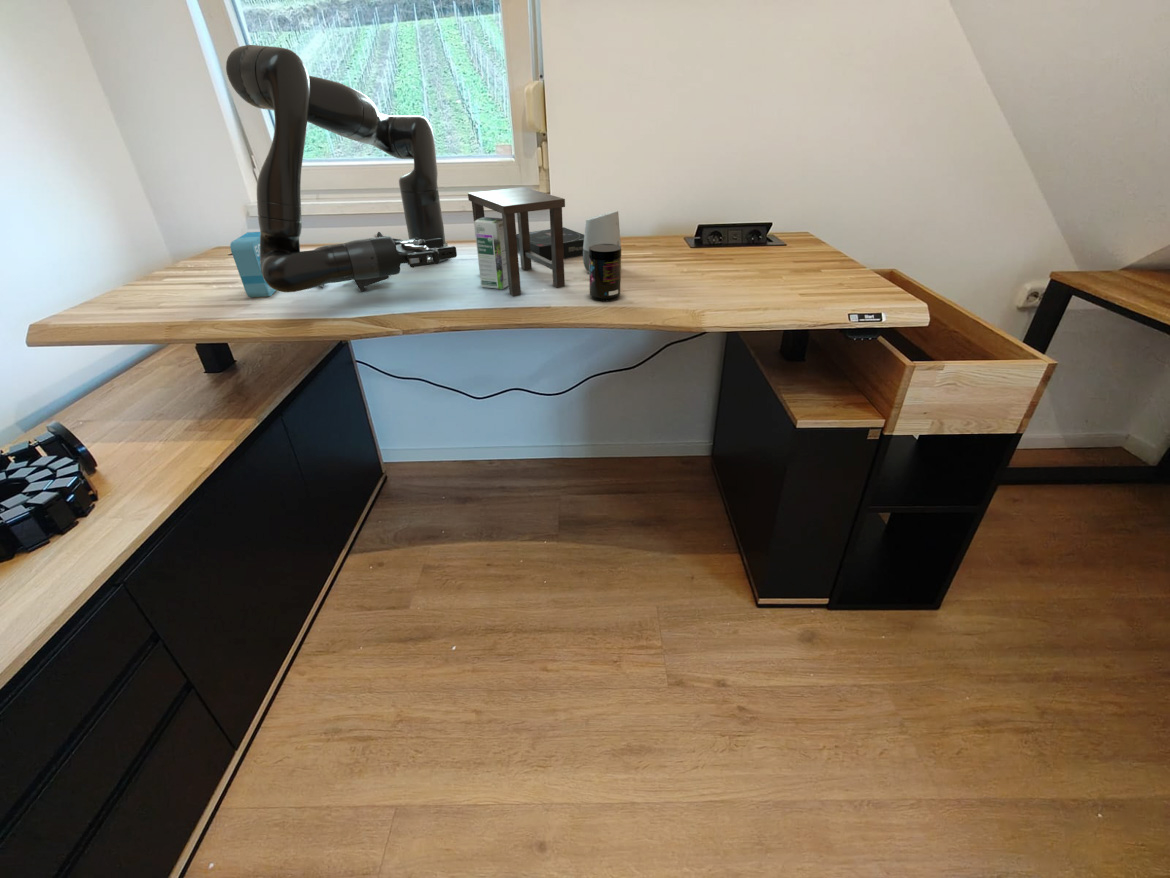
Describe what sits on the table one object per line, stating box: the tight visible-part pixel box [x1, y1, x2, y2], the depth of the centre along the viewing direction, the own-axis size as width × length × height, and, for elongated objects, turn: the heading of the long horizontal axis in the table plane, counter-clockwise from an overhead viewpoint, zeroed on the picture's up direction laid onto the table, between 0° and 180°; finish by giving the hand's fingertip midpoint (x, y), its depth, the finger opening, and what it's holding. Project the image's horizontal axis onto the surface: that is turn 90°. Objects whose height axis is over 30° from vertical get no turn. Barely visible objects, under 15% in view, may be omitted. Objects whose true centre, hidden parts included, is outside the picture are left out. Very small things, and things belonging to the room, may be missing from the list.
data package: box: [229, 231, 278, 298], centre depth 124 cm, size 12×4×12 cm, turn 8°
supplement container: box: [588, 244, 622, 302], centre depth 117 cm, size 7×7×10 cm
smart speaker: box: [582, 210, 622, 273], centre depth 133 cm, size 10×9×14 cm
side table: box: [467, 186, 566, 297], centre depth 126 cm, size 20×14×19 cm
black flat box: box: [516, 226, 585, 261], centre depth 152 cm, size 16×17×4 cm
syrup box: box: [473, 216, 509, 290], centre depth 124 cm, size 6×6×14 cm
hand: (449, 247), depth 119 cm, fingers open, 8 cm apart
